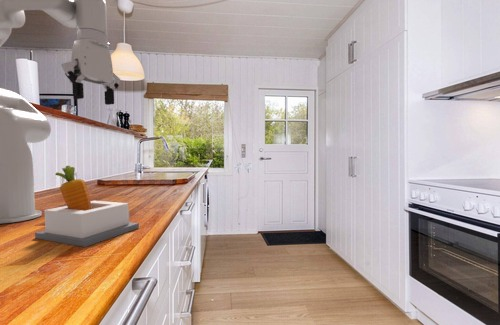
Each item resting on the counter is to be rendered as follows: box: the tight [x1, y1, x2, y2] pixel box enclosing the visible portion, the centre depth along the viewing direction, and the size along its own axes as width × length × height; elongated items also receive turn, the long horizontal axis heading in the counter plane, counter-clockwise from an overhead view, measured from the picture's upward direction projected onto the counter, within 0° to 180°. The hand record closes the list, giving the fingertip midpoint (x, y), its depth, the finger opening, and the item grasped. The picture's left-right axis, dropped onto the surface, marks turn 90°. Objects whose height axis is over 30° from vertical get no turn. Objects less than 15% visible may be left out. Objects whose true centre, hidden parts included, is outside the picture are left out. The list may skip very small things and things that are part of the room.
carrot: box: [55, 165, 91, 211], centre depth 62 cm, size 5×5×15 cm
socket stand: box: [34, 200, 140, 248], centre depth 63 cm, size 16×14×6 cm
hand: (95, 101), depth 78 cm, fingers open, 9 cm apart
